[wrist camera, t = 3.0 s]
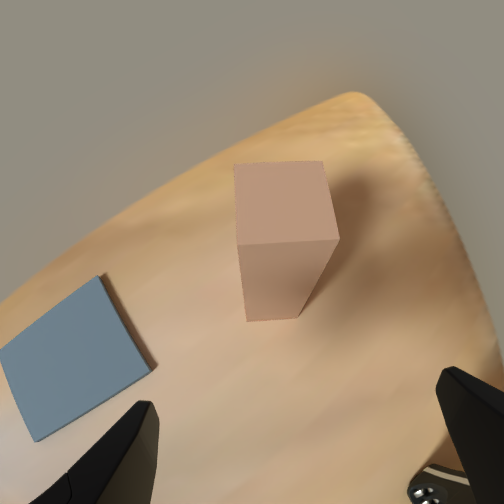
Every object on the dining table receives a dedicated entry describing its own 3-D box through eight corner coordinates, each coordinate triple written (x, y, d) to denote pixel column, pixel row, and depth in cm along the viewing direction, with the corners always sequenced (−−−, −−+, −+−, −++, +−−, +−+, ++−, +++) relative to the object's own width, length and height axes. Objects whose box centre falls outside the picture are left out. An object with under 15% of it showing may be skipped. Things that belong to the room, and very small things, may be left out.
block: (296, 318, 22) (339, 239, 11) (246, 321, 22) (237, 244, 11) (291, 271, 24) (322, 160, 12) (243, 274, 24) (233, 164, 12)
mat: (100, 277, 24) (97, 275, 23) (152, 371, 21) (149, 371, 20) (1, 353, 20) (-3, 351, 20) (38, 442, 17) (34, 442, 17)
